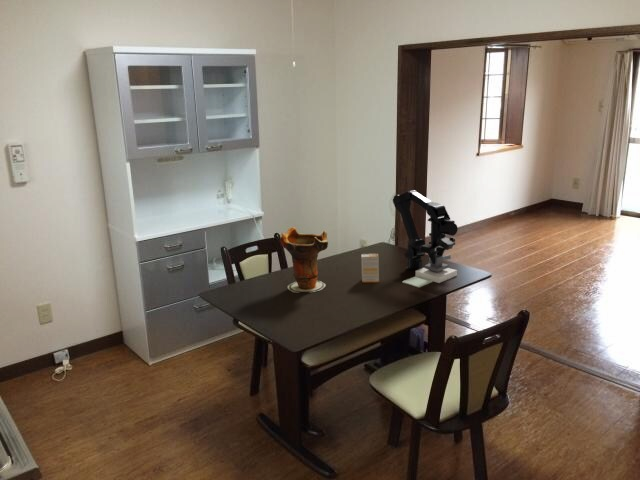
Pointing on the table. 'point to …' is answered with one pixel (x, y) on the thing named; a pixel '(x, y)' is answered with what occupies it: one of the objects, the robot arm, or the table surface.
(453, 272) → the socket block
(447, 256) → the bar
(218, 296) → the table surface
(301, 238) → the decorative vase
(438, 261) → the plug
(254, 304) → the table surface
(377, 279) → the supplement box
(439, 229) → the robot arm
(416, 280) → the pad
